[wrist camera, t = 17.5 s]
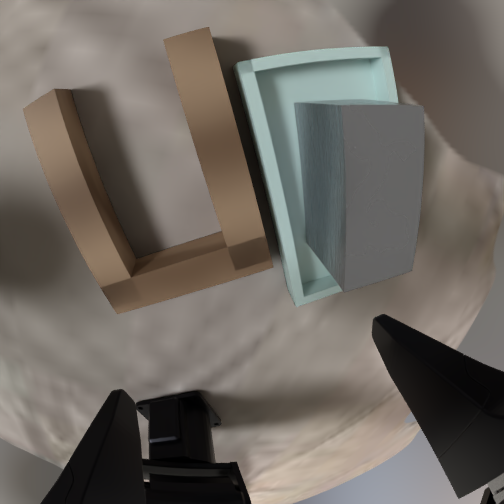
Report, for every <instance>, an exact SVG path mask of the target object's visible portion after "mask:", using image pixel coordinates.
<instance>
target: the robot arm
mask: <svg viewBox="0 0 504 504" xmlns="http://www.w3.org/2000/svg"><path fill="white" fill-rule="evenodd" d="M372 338H373V340H374V342H375V344H376V347H377V349H378V351H379V353H380V355H381V357H382V360H383V362H384V364H385V366H386V368H387V370H388V372H389V374H390V376H391V378H392V380H393V381H394V383H395V385H396V386H397V388H398V390H399V391H400V393H401V395H402V396H403V398H404V400H405V401H406V403H407V405H408V406H409V408H410V410H411V412H412V413H413V415H414V417H415V419H416V420H417V422H418V424H419V426H420V427H421V429H422V431H423V433H424V434H425V436H426V438H427V440H428V441H429V443H430V445H431V447H432V449H433V451H434V452H435V454H436V456H437V458H439V459H438V460H439V462H440V464H441V466H442V468H443V469H444V471H445V473H446V475H447V477H448V479H449V481H450V483H451V485H452V487H453V489H454V491H455V493H456V495H457V497H458V498H461V497H463V496H465V495H467V494H469V493H471V492H473V491H475V490H476V489H478V488H480V487H481V486H484V485H485V484H488V486H489V487H488V488H486V489H485V491H484V494H483V497H482V500H481V503H480V504H504V372H503V371H501V370H498V369H495V368H492V367H490V366H488V365H485V364H483V363H481V362H479V361H477V360H475V359H472V358H471V357H468V356H466V355H463V353H461V352H459V351H457V350H455V349H453V348H451V347H449V346H447V345H445V344H443V343H441V342H439V341H437V340H435V339H433V338H431V337H429V336H427V335H425V334H423V333H421V332H419V331H417V330H415V329H413V328H411V327H409V326H407V325H405V324H403V323H401V322H399V321H397V320H395V319H393V318H391V317H390V316H388V315H385V314H382V315H379V316H377V317H375V318H374V319H373V325H372ZM136 409H137V410H138V411H139V412H140V413H141V414H142V415H143V416H144V417H145V418H146V419H147V420H148V421H149V425H148V441H149V459H142V451H141V439H140V432H139V425H138V418H137V411H136ZM220 425H221V420H220V418H219V417H218V416H217V415H216V413H215V412H214V411H213V409H212V408H211V407H210V405H209V404H208V403H207V401H206V400H205V399H204V397H203V396H202V395H201V393H199V392H190V393H185V394H181V395H176V396H171V397H165V398H160V399H154V400H149V401H143V402H137V403H136V405H135V402H134V401H133V399H132V398H131V397H130V396H129V395H128V394H127V393H126V392H125V391H124V390H123V389H118V390H113V391H112V392H111V393H110V395H109V396H108V398H107V399H106V401H105V402H104V404H103V406H102V407H101V409H100V410H99V412H98V414H97V415H96V417H95V418H94V420H93V422H92V423H91V425H90V427H89V428H88V430H87V431H86V433H85V435H84V436H83V438H82V440H81V441H80V443H79V445H78V446H77V448H76V450H75V451H74V453H73V455H72V456H71V458H70V460H69V462H68V463H67V465H66V466H65V468H64V470H63V471H62V473H61V475H60V476H59V478H58V479H57V481H56V482H55V484H54V486H53V487H52V488H51V490H50V491H49V492H48V494H47V495H46V497H45V498H44V499H43V501H42V502H41V504H251V500H250V497H249V494H248V492H247V489H246V486H245V484H244V481H243V478H242V475H241V473H240V470H239V467H238V464H237V462H230V463H216V461H215V454H214V447H213V440H212V432H211V427H216V426H220ZM144 479H147V480H149V482H144Z"/></svg>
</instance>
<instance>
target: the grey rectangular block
mask: <svg viewBox="0 0 504 504" xmlns="http://www.w3.org/2000/svg"><path fill="white" fill-rule="evenodd" d="M294 108H295V116H296V125H297V134H298V143H299V153H300V164H301V175H302V187H303V199H304V213H305V228H306V243H307V244H308V245H309V247H310V248H311V249H312V251H313V252H314V253H315V255H316V256H317V257H318V258H319V260H320V261H321V262H322V264H323V265H324V266H325V268H326V269H327V270H328V272H329V273H330V274H331V275H332V277H333V278H334V279H335V281H336V282H337V283H338V285H339V286H340V288H341V289H342V290H343V292H347V291H350V290H353V289H357V288H360V287H363V286H367V285H370V284H373V283H376V282H379V281H383V280H386V279H389V278H392V277H395V276H398V275H401V274H404V273H407V272H410V271H412V268H413V262H414V256H415V250H416V243H417V236H418V229H419V220H420V211H421V201H422V188H423V172H424V106H419V105H412V104H405V103H397V102H388V101H378V100H365V99H347V100H322V101H306V102H294Z"/></svg>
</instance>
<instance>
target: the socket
mask: <svg viewBox="0 0 504 504" xmlns="http://www.w3.org/2000/svg"><path fill="white" fill-rule="evenodd" d="M163 41H164V44H165V48H166V51H167V55H168V58H169V62H170V65H171V69H172V72H173V75H174V79H175V82H176V86H177V89H178V92H179V96H180V99H181V102H182V106H183V109H184V112H185V116H186V119H187V122H188V126H189V129H190V132H191V135H192V139H193V142H194V145H195V148H196V151H197V155H198V158H199V161H200V164H201V167H202V171H203V174H204V177H205V180H206V183H207V186H208V189H209V193H210V196H211V199H212V202H213V205H214V208H215V211H216V214H217V217H218V220H219V223H220V226H221V230H222V231H221V232H218V233H215V234H212V235H208V236H205V237H202V238H199V239H196V240H193V241H190V242H187V243H183V244H180V245H177V246H174V247H171V248H168V249H165V250H162V251H159V252H156V253H153V254H150V255H147V256H144V257H141V258H138V259H136V257H135V255H134V253H133V251H132V249H131V247H130V245H129V243H128V240H127V238H126V236H125V234H124V232H123V230H122V227H121V225H120V223H119V221H118V219H117V216H116V214H115V212H114V209H113V207H112V205H111V202H110V200H109V198H108V195H107V193H106V190H105V188H104V186H103V183H102V181H101V178H100V175H99V173H98V170H97V168H96V165H95V162H94V160H93V157H92V154H91V152H90V149H89V146H88V143H87V140H86V137H85V135H84V132H83V129H82V126H81V122H80V119H79V116H78V113H77V110H76V107H75V103H74V100H73V97H72V93H71V90H70V89H53V90H52V91H50V92H48V93H47V94H45V95H43V96H42V97H40V98H39V99H37V100H36V101H34V102H32V103H31V104H29V105H28V106H26V107H25V108H24V109H23V111H24V115H25V118H26V122H27V125H28V128H29V132H30V135H31V138H32V141H33V144H34V147H35V150H36V152H37V155H38V158H39V161H40V163H41V166H42V169H43V171H44V174H45V176H46V179H47V181H48V184H49V186H50V189H51V191H52V193H53V196H54V198H55V200H56V203H57V205H58V207H59V209H60V211H61V214H62V216H63V218H64V220H65V222H66V224H67V226H68V228H69V230H70V232H71V234H72V236H73V238H74V240H75V242H76V244H77V246H78V248H79V250H80V252H81V254H82V256H83V258H84V259H85V261H86V263H87V265H88V267H89V269H90V270H91V272H92V274H93V276H94V277H95V279H96V281H97V282H98V284H99V286H100V288H101V289H102V291H103V293H104V294H105V296H106V297H107V299H108V301H109V302H110V304H111V305H112V307H113V309H114V310H115V312H116V313H117V314H120V313H123V312H127V311H130V310H134V309H137V308H141V307H144V306H148V305H151V304H155V303H158V302H162V301H165V300H168V299H172V298H175V297H178V296H182V295H185V294H189V293H192V292H195V291H199V290H202V289H205V288H208V287H212V286H215V285H218V284H222V283H225V282H228V281H231V280H235V279H238V278H241V277H244V276H248V275H251V274H254V273H257V272H260V271H264V270H267V269H270V268H273V264H272V260H271V256H270V252H269V248H268V244H267V240H266V236H265V232H264V228H263V224H262V220H261V216H260V212H259V208H258V204H257V201H256V197H255V193H254V189H253V185H252V181H251V178H250V174H249V170H248V166H247V162H246V159H245V155H244V151H243V147H242V144H241V140H240V136H239V133H238V129H237V125H236V121H235V118H234V114H233V111H232V107H231V103H230V100H229V96H228V92H227V89H226V85H225V82H224V78H223V75H222V71H221V67H220V64H219V60H218V57H217V53H216V50H215V46H214V43H213V39H212V36H211V33H210V29H209V27H206V28H202V29H198V30H194V31H191V32H187V33H184V34H180V35H177V36H173V37H170V38H167V39H164V40H163Z"/></svg>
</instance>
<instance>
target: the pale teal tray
mask: <svg viewBox="0 0 504 504" xmlns="http://www.w3.org/2000/svg"><path fill="white" fill-rule="evenodd" d="M233 70H234V74H235V77H236V81H237V85H238V88H239V92H240V96H241V99H242V103H243V107H244V110H245V114H246V118H247V122H248V126H249V129H250V133H251V137H252V141H253V145H254V149H255V153H256V157H257V161H258V165H259V169H260V173H261V177H262V181H263V185H264V189H265V193H266V197H267V201H268V205H269V209H270V214H271V218H272V222H273V226H274V230H275V235H276V239H277V243H278V248H279V252H280V256H281V261H282V265H283V270H284V274H285V278H286V283H287V287H288V291H289V293H290V295H291V297H292V299H293V302H294V304H295V306H296V307H298V306H301V305H304V304H307V303H310V302H313V301H316V300H318V299H321V298H324V297H327V296H330V295H333V294H335V293H338V292H341V291H343V290H342V289H341V288H340V286H339V285H338V283H337V282H336V281H335V279H334V278H333V277H332V275H331V274H330V273H329V272H328V270H327V269H326V268H325V266H324V265H323V264H322V262H321V261H320V260H319V258H318V257H317V256H316V255H315V253H314V252H313V251H312V249H311V248H310V247H309V245H308V244H307V243H306V228H305V213H304V199H303V187H302V175H301V164H300V153H299V143H298V134H297V125H296V116H295V108H294V102H306V101H322V100H347V99H365V100H378V101H388V102H397V103H398V96H397V90H396V84H395V78H394V73H393V68H392V63H391V58H390V53H389V49H388V47H347V48H331V49H319V50H309V51H301V52H293V53H286V54H279V55H273V56H267V57H262V58H256V59H251V60H246V61H242V62H237V63H236V64H235V65H234V66H233Z"/></svg>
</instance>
